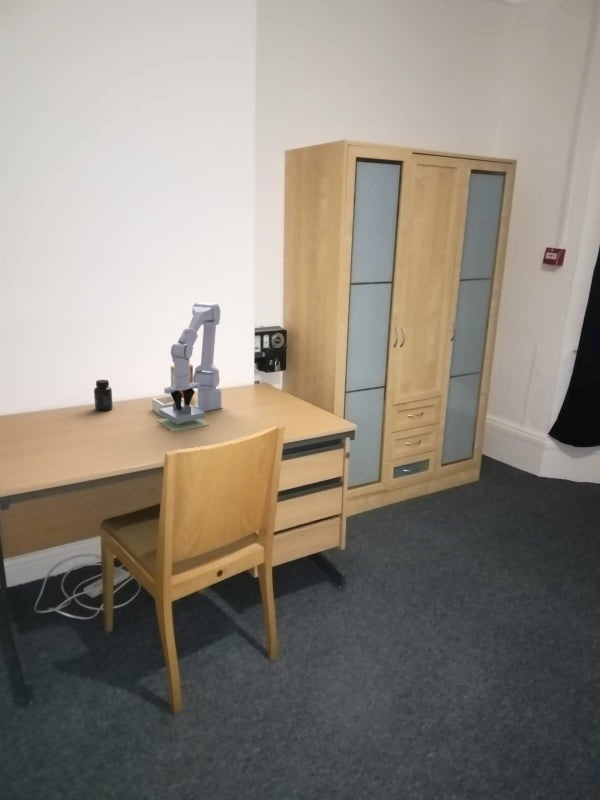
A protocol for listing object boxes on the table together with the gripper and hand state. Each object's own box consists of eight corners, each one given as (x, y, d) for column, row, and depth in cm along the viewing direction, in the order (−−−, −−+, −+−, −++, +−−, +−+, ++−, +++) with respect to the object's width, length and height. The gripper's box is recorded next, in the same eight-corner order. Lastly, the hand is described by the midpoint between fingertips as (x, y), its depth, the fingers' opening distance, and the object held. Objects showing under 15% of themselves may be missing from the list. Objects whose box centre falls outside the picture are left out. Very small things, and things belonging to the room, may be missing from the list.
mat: (191, 414, 231) (191, 413, 231) (209, 425, 219) (209, 424, 219) (156, 420, 222) (156, 419, 222) (173, 431, 211) (173, 430, 211)
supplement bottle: (92, 408, 234) (90, 380, 230) (108, 405, 238) (107, 378, 235) (99, 412, 229) (97, 384, 226) (115, 410, 233) (113, 381, 230)
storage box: (177, 406, 242) (176, 394, 240) (188, 412, 233) (188, 401, 232) (152, 409, 235) (152, 398, 234) (163, 417, 227) (163, 405, 225)
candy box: (188, 396, 256) (188, 363, 252) (193, 398, 253) (193, 365, 249) (171, 399, 251) (170, 365, 246) (175, 401, 248) (174, 367, 243)
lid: (186, 408, 229) (186, 397, 227) (204, 417, 220) (204, 406, 219) (159, 414, 220) (159, 402, 219) (176, 424, 212) (176, 411, 210)
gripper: (192, 369, 223) (192, 403, 227) (159, 375, 213) (160, 409, 217) (202, 373, 218) (202, 407, 222) (169, 378, 208) (170, 414, 212)
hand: (182, 408), depth 219 cm, fingers closed on lid, 3 cm apart
